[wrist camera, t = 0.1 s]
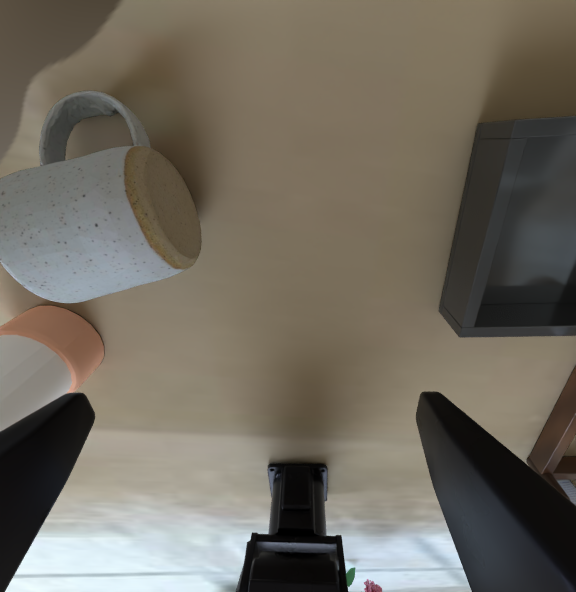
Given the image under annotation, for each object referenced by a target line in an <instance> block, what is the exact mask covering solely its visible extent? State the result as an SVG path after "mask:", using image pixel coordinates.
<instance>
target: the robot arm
mask: <svg viewBox="0 0 576 592" xmlns="http://www.w3.org/2000/svg"><path fill="white" fill-rule="evenodd" d="M94 420H95V412H94V410H93V408H92V406H91V404H90V402H89V400H88V399H87V397H86V395H85V394H83V393H66V394H64V395H62V396H61V397H59V398H57V399H55V400H54V401H52V402H50V403H49V404H47V405H45V406H43V407H42V408H40V409H38V410H36V411H35V412H33V413H31V414H30V415H28V416H26V417H24V418H23V419H21V420H19V421H18V422H16V423H14V424H12V425H11V426H9V427H7V428H6V429H4V430H2V431H0V592H5V590H6V589H7V587H8V585H9V583H10V582H11V580H12V578H13V576H14V574H15V573H16V571H17V569H18V567H19V566H20V564H21V562H22V560H23V558H24V557H25V555H26V553H27V551H28V550H29V548H30V546H31V544H32V542H33V541H34V539H35V537H36V535H37V534H38V532H39V530H40V528H41V526H42V525H43V523H44V521H45V519H46V518H47V516H48V514H49V512H50V510H51V509H52V507H53V505H54V503H55V502H56V500H57V498H58V496H59V494H60V493H61V491H62V489H63V487H64V485H65V483H66V482H67V480H68V478H69V476H70V474H71V472H72V469H73V467H74V465H75V463H76V461H77V458H78V456H79V454H80V452H81V450H82V448H83V445H84V443H85V441H86V439H87V437H88V434H89V432H90V430H91V428H92V426H93V423H94ZM416 422H417V426H418V430H419V434H420V438H421V442H422V446H423V449H424V453H425V457H426V461H427V465H428V469H429V473H430V476H431V480H432V484H433V487H434V490H435V493H436V496H437V498H438V501H439V504H440V507H441V509H442V512H443V515H444V517H445V520H446V523H447V525H448V528H449V531H450V534H451V536H452V539H453V542H454V544H455V547H456V550H457V552H458V555H459V558H460V561H461V563H462V566H463V569H464V571H465V574H466V577H467V579H468V582H469V585H470V588H471V590H472V592H576V505H575V504H574V503H572V502H571V501H570V500H569V499H568V498H566V497H565V496H564V495H563V494H562V493H560V492H559V491H558V490H557V489H556V488H554V487H553V486H552V485H551V484H550V483H548V482H547V481H546V480H545V479H543V478H542V477H541V476H540V475H539V474H537V473H536V472H535V471H534V470H533V469H531V468H530V467H529V466H528V465H527V464H525V463H524V462H523V461H522V460H521V459H519V458H518V457H517V456H516V455H515V454H513V453H512V452H511V451H510V450H509V449H507V448H506V447H505V446H504V445H503V444H501V443H500V442H499V441H498V440H496V439H495V438H494V437H493V436H492V435H490V434H489V433H488V432H487V431H486V430H484V429H483V428H482V427H481V426H480V425H478V424H477V423H476V422H475V421H474V420H472V419H471V418H470V417H469V416H468V415H466V414H465V413H464V412H463V411H462V410H460V409H459V408H458V407H457V406H455V405H454V404H453V403H452V402H451V401H449V400H448V399H447V398H446V397H445V396H443V395H442V394H441V393H439V392H422V393H421V394H420V398H419V402H418V407H417V412H416ZM268 476H269V483H270V490H271V497H272V502H271V513H270V524H269V534H258V533H252V535H251V540H250V541H249V542H247V548H246V555H245V561H244V565H243V569H242V572H241V576H240V579H239V582H238V586H237V589H236V592H348V587H347V578H346V570H345V562H344V553H343V545H342V537H341V535H336V536H326V519H325V501H327V466H326V465H324V464H269V465H268Z"/></svg>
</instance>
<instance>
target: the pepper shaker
mask: <svg viewBox="0 0 576 592" xmlns="http://www.w3.org/2000/svg"><path fill="white" fill-rule="evenodd" d="M103 357H104V345H103V343H102V340H101V338H100V336H99V334H98V333H97V332H96V330H95V329H94V328H93V327H92V325H91V324H89V323H88V322H87V321H86V320H84V319H83V318H82V317H81V316H79V315H77V314H75V313H73V312H71V311H69V310H67V309H64V308H60V307H56V306H37V307H34V308H31V309H29V310H27V311H25V312H24V313H22V314H20V315H19V316H17V317H16V318H14V319H12V320H11V321H9V322H7V323H6V324H4V325H2V326H1V327H0V431H2V430H4V429H6V428H7V427H9V426H11V425H12V424H14V423H16V422H18V421H19V420H21V419H23V418H24V417H26V416H28V415H30V414H31V413H33V412H35V411H36V410H38V409H40V408H42V407H43V406H45V405H47V404H49V403H50V402H52V401H54V400H55V399H57V398H59V397H61V396H62V395H64V394H66V393H74V392H75V391H76V390H77V389H78V388H79V387H80V386H81V385H82V384H83V382H84V381H85V380H86V379H87V378H88V377H89V376H90V375H91V374H92V373H93V372H94V370H95V369H96V368H97V367H98V366H99V365H100V364H101V362H102V360H103Z"/></svg>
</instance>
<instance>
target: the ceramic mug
mask: <svg viewBox="0 0 576 592" xmlns="http://www.w3.org/2000/svg"><path fill="white" fill-rule="evenodd" d="M117 113H120V114H121V115H122V116H123V117H124V118H125V120H126V123H127V125H128V127H129V130H130V132H131V137H132V140H133V146H124V147H114V148H110V149H106V150H102V151H98V152H94V153H92V154H89V155H86V156H82V157H78V158H74V159H70V160H65V155H66V154H65V152H66V145H67V141H68V138H69V135H70V133H71V131H72V130H73V128H74V126H75V125H76V124H77V123H78V122H80V121H81V120H82V119H84V118H88V117H93V116H98V115H108V116H112V115H114V114H117ZM39 154H40V165H41V166H39V167H35V168H30V169H25V170H21V171H18V172H15V173H12V174H9V175H7V176H5V177H3V178H1V179H0V263H1V264H2V265H3V267H4V268H5V269H6V270H7V271H8V272H9V274H10V275H11V276H12V277H13V278H14V279H15V280H16V281H18V282H19V283H20V284H21V285H22V286H24V287H25V288H26V289H28V290H29V291H31V292H32V293H34V294H36V295H38V296H40V297H42V298H44V299H47V300H51V301H54V302H61V303H78V302H83V301H87V300H90V299H93V298H96V297H100V296H104V295H107V294H111V293H115V292H118V291H122V290H126V289H129V288H132V287H135V286H138V285H142V284H146V283H150V282H154V281H158V280H162V279H165V278H168V277H171V276H173V275H176V274H178V273H180V272H182V271H184V270H186V269H188V268H190V267H191V266H192V265H193V264H194V263H195V261H196V260H197V258H198V256H199V253H200V250H201V242H202V240H201V227H200V221H199V218H198V214H197V211H196V207H195V204H194V202H193V200H192V197H191V194H190V192H189V190H188V188H187V186H186V184H185V182H184V180H183V178H182V177H181V175H180V174H179V172H178V171H177V169H176V168H175V167H174V166H173V164H172V163H171V162H170V161H169V160H168V159H167V158H165V157H164V156H163V155H162V154H161V153H159V152H157V151H156V150H154V149H152V148H151V147H150V140H149V137H148V135H147V133H146V131H145V129H144V127H143V125H142V123H141V122H140V120H139V119H138V118H137V117H136V116H135V114H134V113H133V112H132V111H131V110H130V109H128V108H127V107H126V106H125V105H124V104H123V103H121V102H120V101H118V100H117V99H115V98H114V97H112V96H110V95H107V94H105V93H103V92H98V91H81V92H76V93H73V94H70V95H67V96H65V97H64V98H62V99H61V100H59V101H58V102H57V103H56V104H55V105H54V106H53V107H52V109H51V110H50V111H49V113H48V115H47V117H46V119H45V122H44V124H43V127H42V131H41V137H40V144H39Z"/></svg>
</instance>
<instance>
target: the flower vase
mask: <svg viewBox="0 0 576 592" xmlns="http://www.w3.org/2000/svg"><path fill="white" fill-rule="evenodd" d="M354 577H355V568H351V569H350V570H349V571H348V572H347V573H346V578H347V586H348V587H349V586H350V585H351V584H352V582H353V580H354ZM370 582H371V581H370ZM364 584H365V585H366V588H365V589H364V590H365V592H382V588H381V587H380V586H379V585H377V584H376V585H375V584H374V582H373V581H372V582H371V583H370V584H369V580H368V579H367V581H366V582H364Z"/></svg>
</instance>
